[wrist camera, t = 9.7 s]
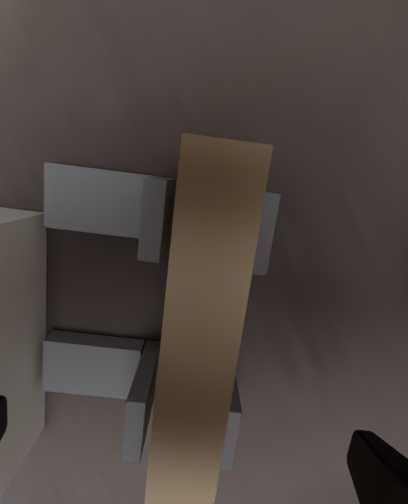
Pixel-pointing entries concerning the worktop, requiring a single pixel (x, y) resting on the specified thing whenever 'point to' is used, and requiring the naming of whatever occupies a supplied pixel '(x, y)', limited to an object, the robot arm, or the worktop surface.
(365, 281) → the worktop surface
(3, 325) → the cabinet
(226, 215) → the door panel
